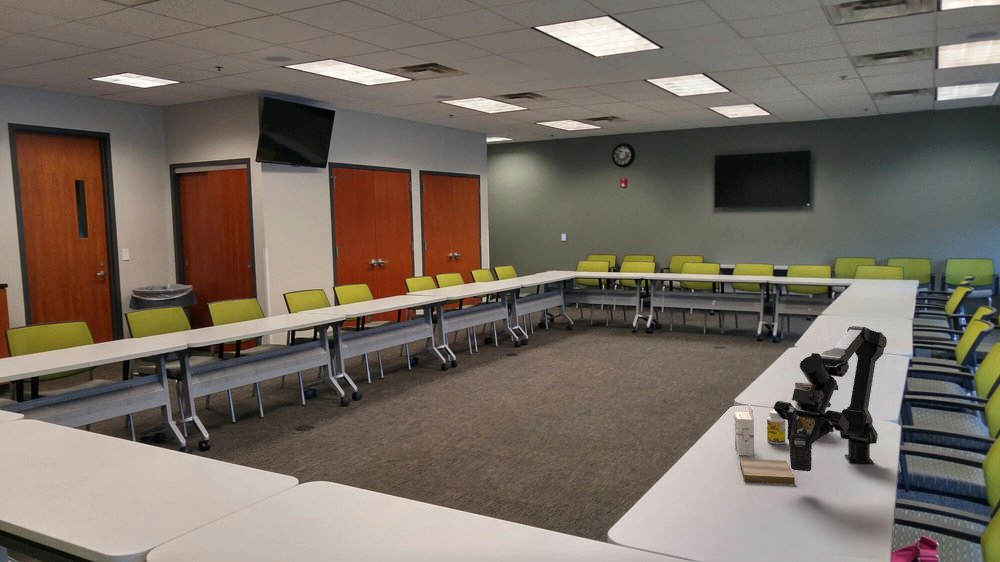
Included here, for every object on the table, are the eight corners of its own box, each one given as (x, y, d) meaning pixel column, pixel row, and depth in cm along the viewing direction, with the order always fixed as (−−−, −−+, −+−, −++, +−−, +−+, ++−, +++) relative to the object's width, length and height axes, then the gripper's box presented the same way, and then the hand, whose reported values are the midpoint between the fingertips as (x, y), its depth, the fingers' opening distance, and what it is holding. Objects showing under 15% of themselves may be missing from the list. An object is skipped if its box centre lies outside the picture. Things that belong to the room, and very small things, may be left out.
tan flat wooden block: (739, 465, 200) (739, 458, 200) (786, 467, 197) (786, 460, 197) (744, 482, 187) (744, 474, 187) (794, 484, 184) (794, 477, 183)
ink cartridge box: (734, 447, 217) (733, 402, 216) (750, 447, 216) (749, 402, 215) (738, 455, 209) (737, 409, 208) (754, 456, 208) (754, 409, 207)
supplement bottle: (763, 441, 222) (763, 410, 221) (776, 438, 224) (775, 408, 223) (776, 445, 216) (776, 414, 216) (789, 443, 219) (789, 412, 218)
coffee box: (823, 428, 233) (823, 382, 232) (826, 433, 227) (825, 386, 226) (795, 427, 236) (794, 381, 235) (796, 432, 230) (796, 386, 229)
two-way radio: (789, 470, 179) (787, 415, 178) (790, 465, 183) (788, 411, 182) (812, 472, 177) (810, 416, 176) (812, 467, 180) (811, 412, 180)
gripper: (776, 372, 188) (753, 418, 182) (842, 382, 173) (820, 433, 167) (792, 394, 193) (771, 440, 187) (858, 406, 178) (837, 457, 172)
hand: (798, 442), depth 178 cm, fingers closed on two-way radio, 5 cm apart
